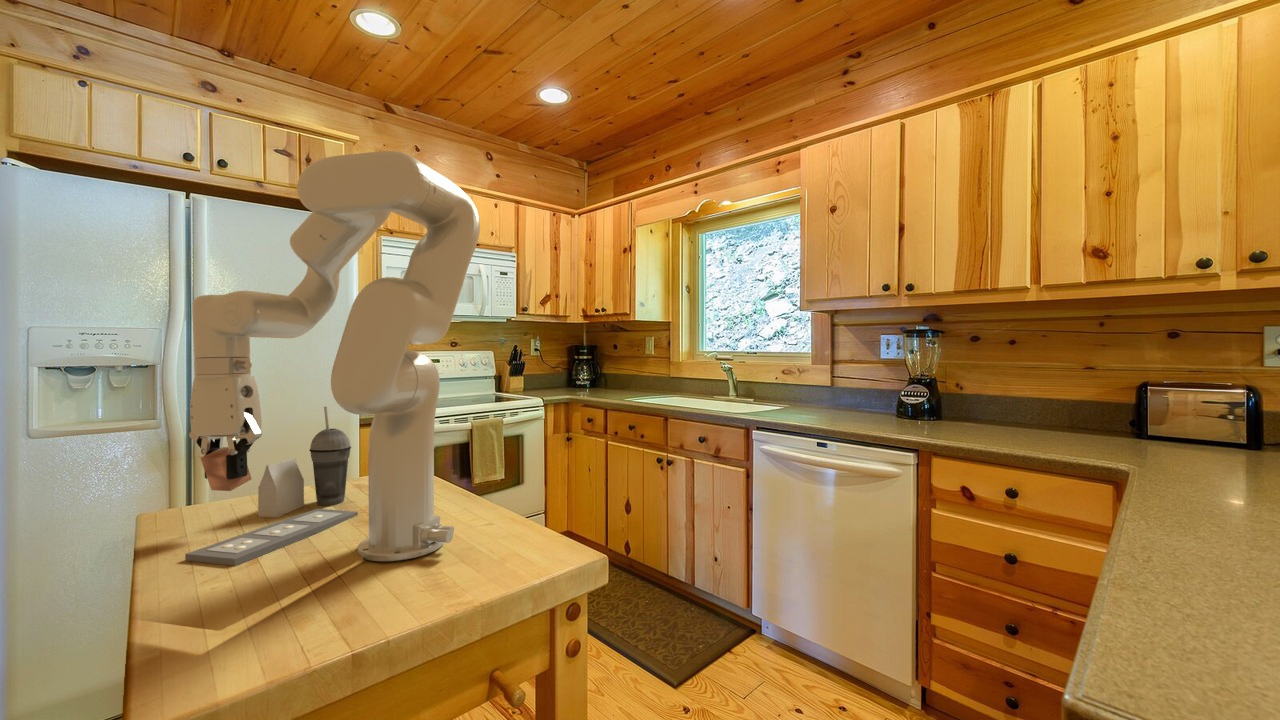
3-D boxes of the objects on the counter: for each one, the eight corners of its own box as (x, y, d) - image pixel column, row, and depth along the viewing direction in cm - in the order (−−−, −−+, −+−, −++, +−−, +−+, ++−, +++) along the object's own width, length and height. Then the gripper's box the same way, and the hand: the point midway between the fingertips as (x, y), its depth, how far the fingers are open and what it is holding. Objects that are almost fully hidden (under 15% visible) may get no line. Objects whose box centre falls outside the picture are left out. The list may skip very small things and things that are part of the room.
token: (251, 479, 93) (241, 447, 91) (230, 491, 89) (219, 458, 87) (233, 478, 94) (222, 447, 92) (211, 490, 90) (200, 457, 88)
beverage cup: (332, 512, 103) (332, 408, 103) (300, 510, 104) (300, 407, 104) (359, 502, 110) (359, 405, 110) (329, 500, 112) (328, 404, 111)
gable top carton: (303, 509, 105) (303, 458, 105) (276, 520, 98) (276, 465, 98) (286, 509, 105) (286, 458, 105) (258, 519, 99) (258, 465, 99)
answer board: (357, 517, 100) (357, 510, 100) (235, 565, 77) (235, 557, 77) (316, 513, 102) (316, 507, 102) (185, 560, 79) (185, 552, 79)
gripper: (283, 367, 92) (286, 473, 92) (205, 369, 96) (209, 471, 96) (242, 368, 85) (245, 483, 85) (160, 370, 89) (163, 481, 89)
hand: (226, 476), depth 91 cm, fingers closed on token, 3 cm apart
